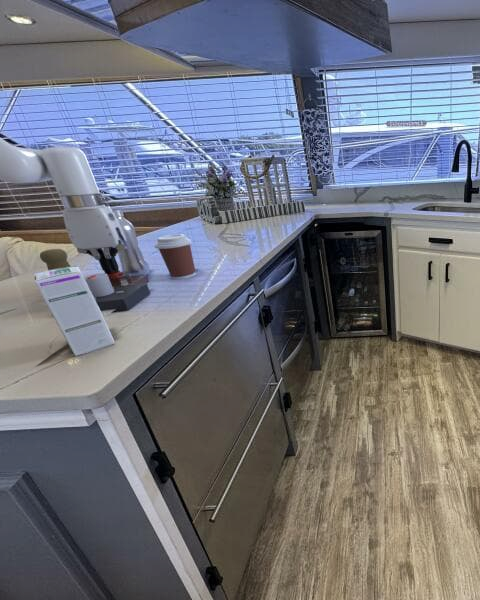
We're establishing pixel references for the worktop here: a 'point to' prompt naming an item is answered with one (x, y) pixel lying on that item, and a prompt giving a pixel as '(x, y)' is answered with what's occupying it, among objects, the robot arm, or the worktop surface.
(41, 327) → the worktop surface
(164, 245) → the coffee cup
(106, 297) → the panel
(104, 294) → the stove knob
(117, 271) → the ignition button
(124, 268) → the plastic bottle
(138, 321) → the worktop surface
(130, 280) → the ignition block
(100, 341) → the syrup box
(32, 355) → the worktop surface
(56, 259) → the cork
